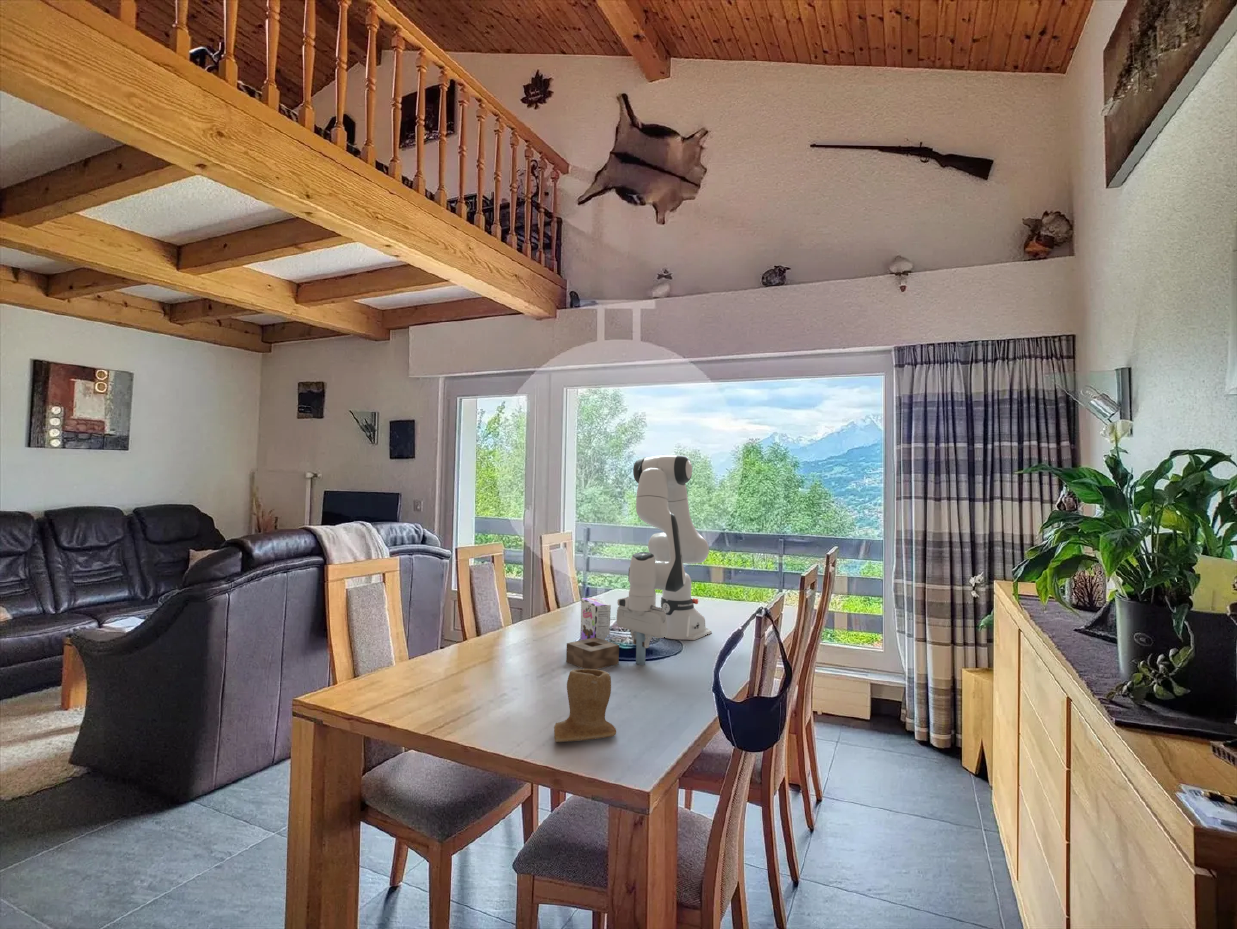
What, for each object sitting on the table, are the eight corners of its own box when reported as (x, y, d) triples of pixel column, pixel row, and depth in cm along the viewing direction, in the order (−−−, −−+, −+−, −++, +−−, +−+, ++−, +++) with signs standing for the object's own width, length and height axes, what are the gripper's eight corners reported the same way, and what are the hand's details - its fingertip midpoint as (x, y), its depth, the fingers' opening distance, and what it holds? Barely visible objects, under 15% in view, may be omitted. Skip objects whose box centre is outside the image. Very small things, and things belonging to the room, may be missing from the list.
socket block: (594, 655, 209) (594, 637, 209) (618, 663, 200) (619, 645, 200) (566, 661, 201) (566, 643, 201) (590, 670, 192) (590, 651, 192)
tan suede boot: (606, 722, 153) (608, 661, 153) (620, 742, 141) (622, 676, 142) (545, 728, 148) (547, 665, 148) (555, 749, 137) (557, 681, 137)
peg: (640, 661, 204) (641, 624, 204) (647, 663, 201) (647, 626, 202) (633, 662, 202) (634, 625, 202) (640, 665, 199) (641, 627, 200)
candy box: (579, 643, 223) (580, 597, 224) (594, 641, 226) (595, 596, 226) (594, 653, 211) (595, 605, 211) (610, 652, 213) (611, 604, 214)
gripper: (672, 607, 196) (671, 651, 196) (627, 597, 211) (626, 637, 211) (658, 610, 192) (657, 654, 192) (613, 599, 207) (612, 640, 207)
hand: (640, 645), depth 202 cm, fingers closed on peg, 3 cm apart
